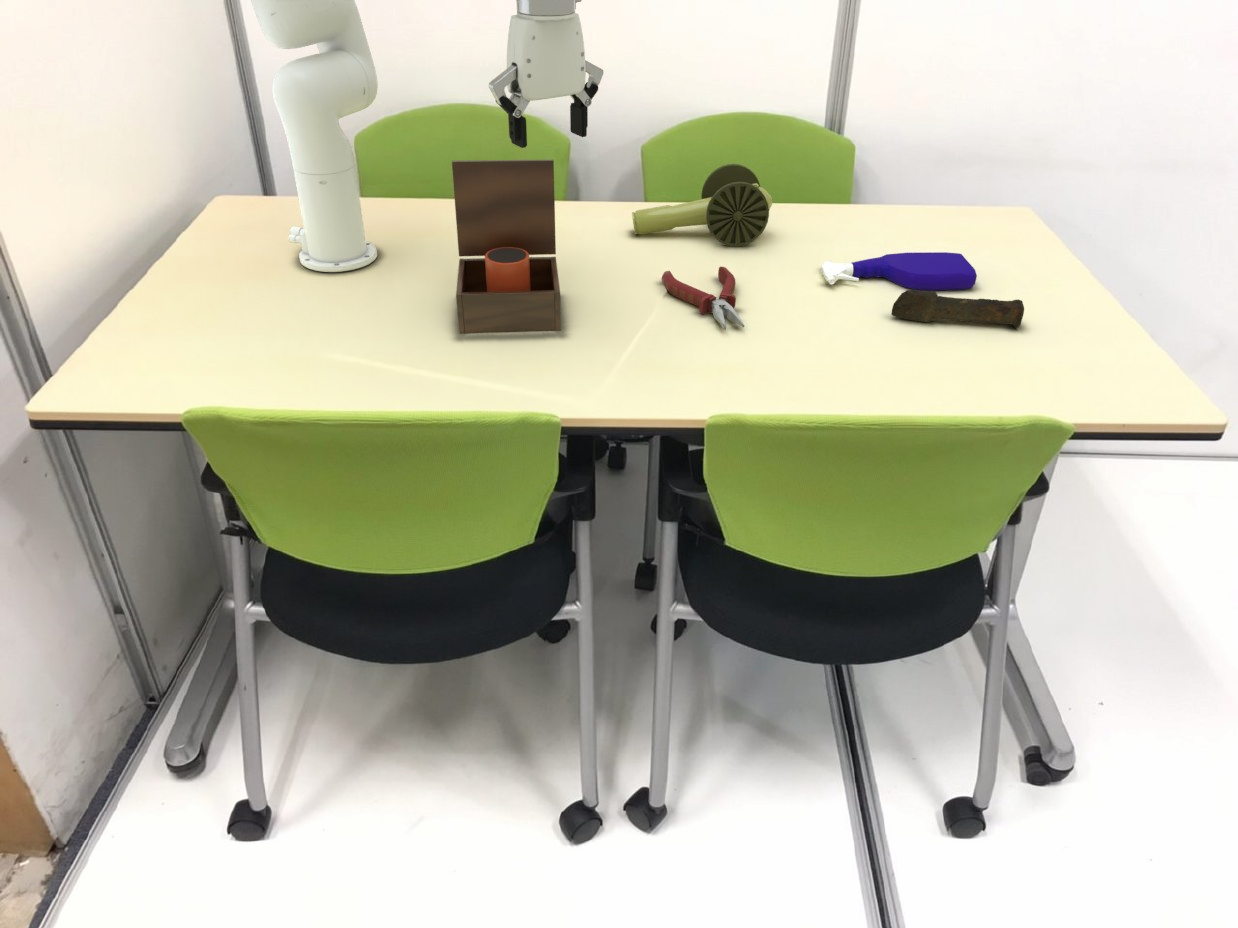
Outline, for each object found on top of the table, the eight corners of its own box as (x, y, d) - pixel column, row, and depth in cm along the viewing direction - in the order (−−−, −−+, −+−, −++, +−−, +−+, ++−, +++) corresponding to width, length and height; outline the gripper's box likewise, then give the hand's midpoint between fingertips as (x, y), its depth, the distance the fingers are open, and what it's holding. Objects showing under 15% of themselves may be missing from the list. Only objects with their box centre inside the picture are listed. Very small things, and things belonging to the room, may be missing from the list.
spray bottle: (960, 249, 158) (817, 250, 157) (983, 275, 149) (831, 276, 148) (956, 266, 160) (814, 267, 159) (978, 292, 151) (828, 294, 150)
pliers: (697, 338, 135) (698, 322, 134) (659, 283, 151) (659, 268, 150) (770, 331, 138) (772, 315, 136) (725, 278, 154) (727, 263, 152)
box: (560, 335, 135) (560, 292, 131) (459, 338, 134) (455, 294, 130) (556, 297, 146) (555, 256, 142) (462, 299, 144) (459, 258, 141)
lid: (553, 160, 135) (552, 153, 139) (451, 161, 133) (453, 154, 138) (555, 254, 141) (554, 244, 146) (458, 256, 140) (460, 246, 144)
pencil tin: (481, 317, 138) (477, 259, 132) (499, 300, 143) (495, 244, 138) (521, 324, 136) (518, 266, 131) (537, 306, 141) (535, 250, 136)
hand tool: (1014, 320, 143) (1022, 291, 140) (1020, 331, 139) (1028, 303, 137) (889, 310, 145) (894, 282, 142) (891, 321, 141) (897, 293, 139)
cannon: (631, 246, 164) (633, 182, 158) (630, 222, 174) (632, 161, 167) (772, 248, 165) (780, 184, 158) (763, 224, 174) (770, 163, 168)
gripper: (585, -6, 126) (586, 125, 135) (471, 4, 117) (481, 143, 127) (617, 2, 121) (615, 137, 130) (501, 13, 112) (508, 156, 122)
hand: (549, 140), depth 129 cm, fingers open, 9 cm apart
